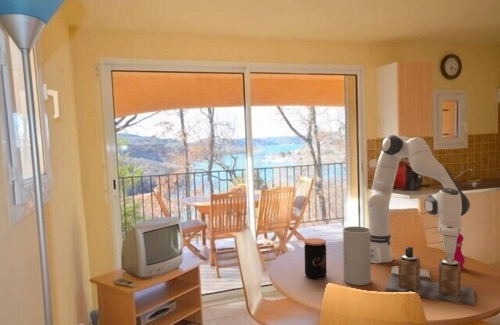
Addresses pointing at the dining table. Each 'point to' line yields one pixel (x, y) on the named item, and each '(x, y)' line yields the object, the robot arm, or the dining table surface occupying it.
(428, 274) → the washcloth
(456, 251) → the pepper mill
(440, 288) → the grey holder stand
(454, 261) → the plunger right
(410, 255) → the plunger left
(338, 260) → the dining table surface
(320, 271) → the coffee jar
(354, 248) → the cylinder vase
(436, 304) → the dining table surface
